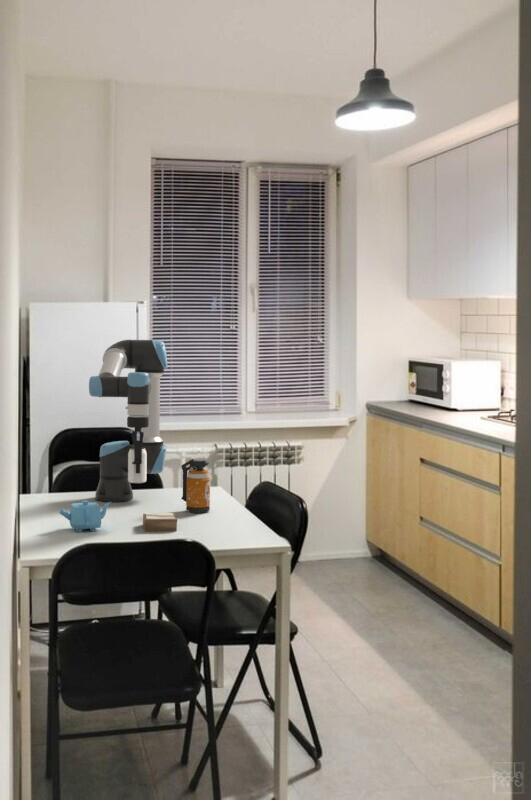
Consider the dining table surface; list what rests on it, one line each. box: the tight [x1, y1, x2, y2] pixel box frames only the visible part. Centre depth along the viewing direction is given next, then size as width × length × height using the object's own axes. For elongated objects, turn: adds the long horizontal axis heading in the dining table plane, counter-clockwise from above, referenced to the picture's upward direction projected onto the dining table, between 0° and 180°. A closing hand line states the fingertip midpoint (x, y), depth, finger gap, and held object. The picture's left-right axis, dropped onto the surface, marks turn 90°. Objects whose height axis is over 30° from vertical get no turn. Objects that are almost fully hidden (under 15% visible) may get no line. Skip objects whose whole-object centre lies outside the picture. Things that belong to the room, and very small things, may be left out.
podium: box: [142, 512, 178, 533], centre depth 316 cm, size 11×11×4 cm
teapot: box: [58, 500, 113, 533], centre depth 312 cm, size 18×14×10 cm
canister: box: [180, 458, 211, 514], centre depth 345 cm, size 9×11×20 cm
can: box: [128, 448, 148, 484], centre depth 320 cm, size 6×6×12 cm
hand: (137, 480), depth 321 cm, fingers closed on can, 6 cm apart
